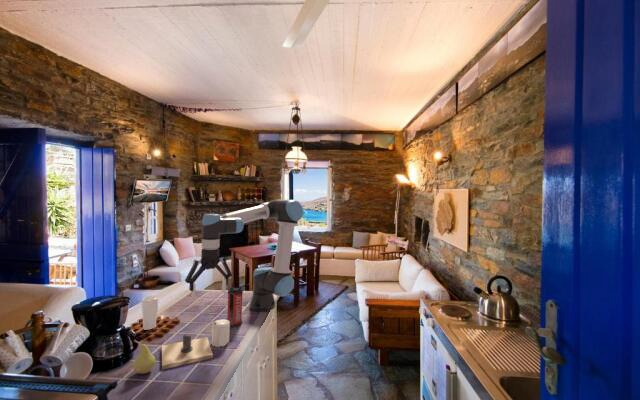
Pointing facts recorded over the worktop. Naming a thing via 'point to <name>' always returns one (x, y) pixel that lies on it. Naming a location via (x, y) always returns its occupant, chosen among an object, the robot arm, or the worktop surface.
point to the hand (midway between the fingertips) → (209, 295)
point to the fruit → (144, 360)
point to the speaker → (235, 306)
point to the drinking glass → (149, 311)
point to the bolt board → (186, 352)
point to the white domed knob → (220, 332)
